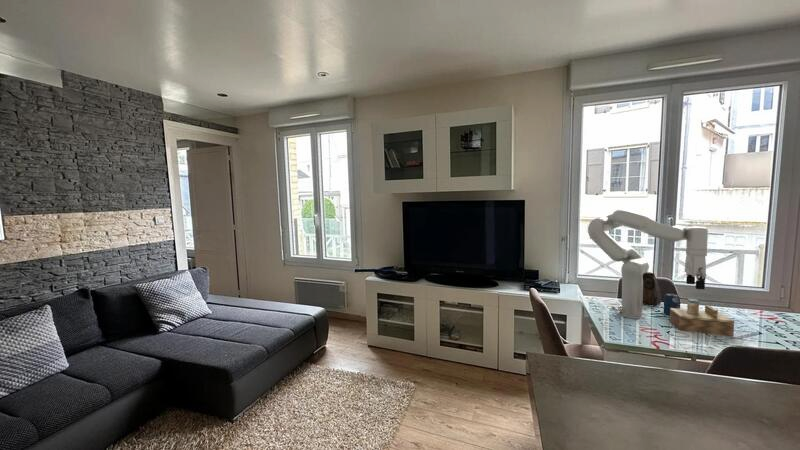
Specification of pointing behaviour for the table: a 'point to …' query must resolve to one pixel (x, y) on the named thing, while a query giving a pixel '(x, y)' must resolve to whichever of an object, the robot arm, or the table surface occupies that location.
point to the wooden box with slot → (702, 325)
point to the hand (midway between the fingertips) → (695, 286)
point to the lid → (703, 315)
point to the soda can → (671, 302)
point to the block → (693, 306)
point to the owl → (651, 289)
